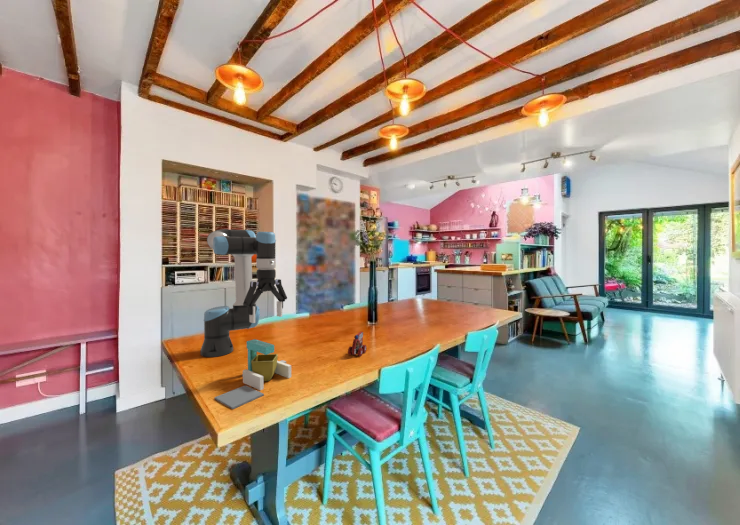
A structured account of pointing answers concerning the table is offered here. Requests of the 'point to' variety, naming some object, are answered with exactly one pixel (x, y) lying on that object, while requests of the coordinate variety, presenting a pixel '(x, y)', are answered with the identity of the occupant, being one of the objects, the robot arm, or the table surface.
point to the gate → (257, 350)
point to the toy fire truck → (357, 345)
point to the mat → (239, 396)
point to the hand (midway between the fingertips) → (266, 319)
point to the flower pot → (265, 365)
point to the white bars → (257, 380)
